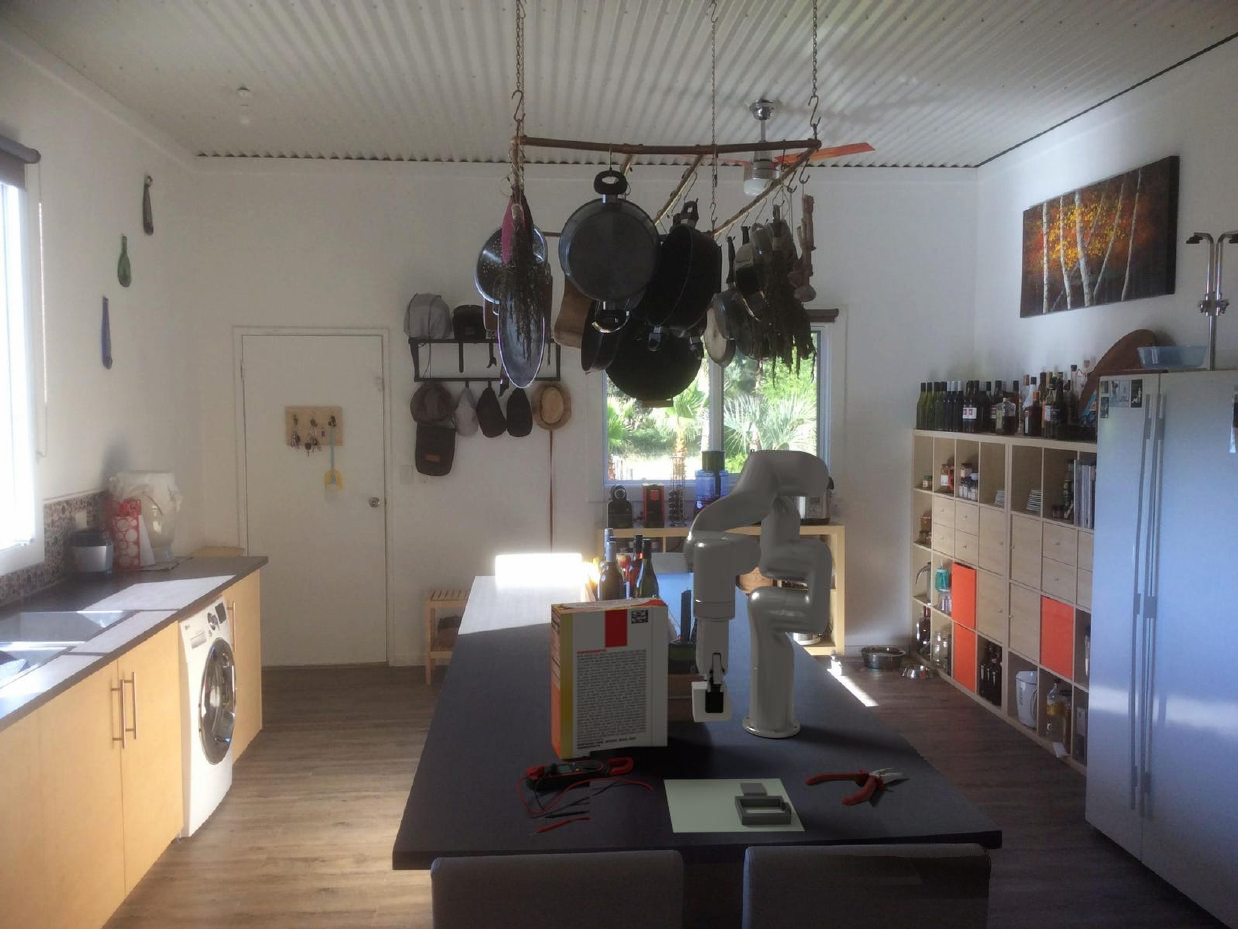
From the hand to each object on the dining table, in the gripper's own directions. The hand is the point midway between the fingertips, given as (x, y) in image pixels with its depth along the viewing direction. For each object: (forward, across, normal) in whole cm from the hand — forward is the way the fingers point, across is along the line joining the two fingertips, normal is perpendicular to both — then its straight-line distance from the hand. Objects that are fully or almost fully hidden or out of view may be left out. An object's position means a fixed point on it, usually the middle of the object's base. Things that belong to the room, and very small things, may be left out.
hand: (712, 707), depth 161 cm
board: (+17, +4, +3) cm, 18 cm away
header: (+16, +8, +8) cm, 20 cm away
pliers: (+18, -4, +29) cm, 34 cm away
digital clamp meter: (+18, -2, -23) cm, 30 cm away
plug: (+2, 0, 0) cm, 2 cm away
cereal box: (+18, -25, -19) cm, 36 cm away
